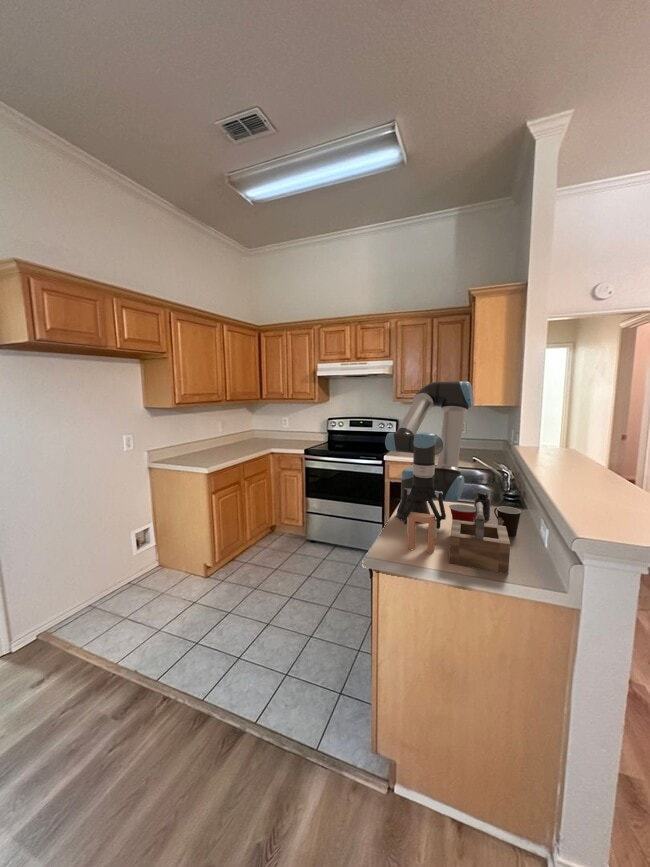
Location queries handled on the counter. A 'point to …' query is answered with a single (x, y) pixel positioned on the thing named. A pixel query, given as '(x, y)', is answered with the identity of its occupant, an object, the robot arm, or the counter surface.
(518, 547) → the counter surface
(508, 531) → the coffee mug
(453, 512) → the plastic cup
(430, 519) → the block
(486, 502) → the supplement bottle
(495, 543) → the open wooden box
